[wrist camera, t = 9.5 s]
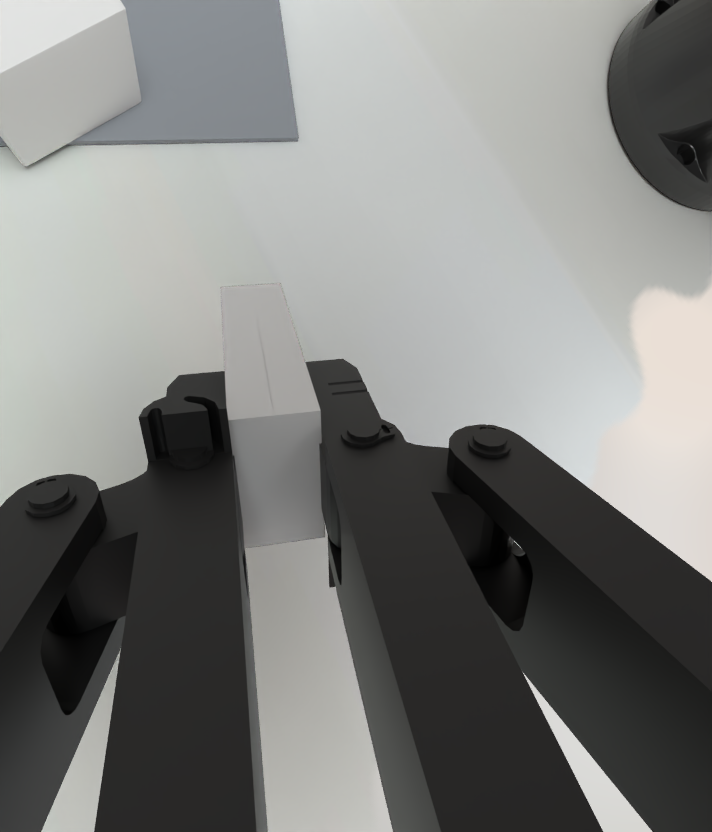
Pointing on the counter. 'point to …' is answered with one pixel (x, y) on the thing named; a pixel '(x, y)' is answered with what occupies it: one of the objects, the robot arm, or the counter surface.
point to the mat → (205, 75)
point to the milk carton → (62, 71)
